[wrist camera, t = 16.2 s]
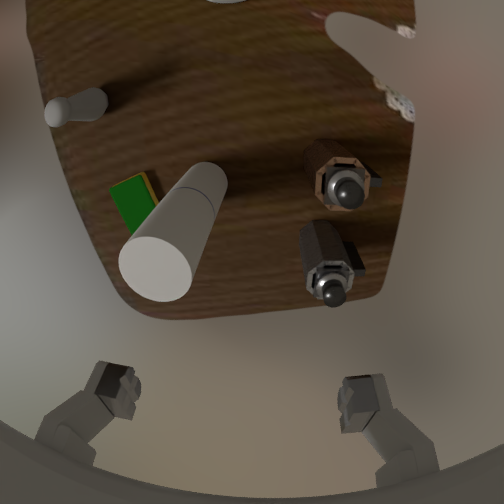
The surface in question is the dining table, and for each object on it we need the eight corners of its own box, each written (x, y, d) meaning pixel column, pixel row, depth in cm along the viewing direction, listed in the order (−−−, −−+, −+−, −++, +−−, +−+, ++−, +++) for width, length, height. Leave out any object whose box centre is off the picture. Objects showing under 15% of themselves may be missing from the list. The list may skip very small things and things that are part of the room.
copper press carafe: (304, 138, 42) (318, 157, 30) (360, 142, 41) (393, 163, 30) (302, 179, 45) (314, 212, 34) (356, 181, 45) (384, 215, 33)
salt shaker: (94, 82, 37) (45, 87, 26) (118, 93, 38) (72, 100, 27) (81, 112, 40) (34, 125, 29) (104, 124, 41) (59, 139, 30)
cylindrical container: (231, 166, 45) (195, 246, 24) (223, 206, 49) (188, 308, 27) (188, 158, 44) (117, 229, 23) (182, 198, 48) (121, 292, 27)
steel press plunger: (309, 237, 46) (320, 285, 36) (336, 238, 46) (354, 285, 35) (307, 260, 48) (316, 311, 38) (333, 261, 48) (348, 310, 38)
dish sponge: (146, 247, 54) (141, 254, 52) (114, 184, 48) (108, 189, 45) (177, 237, 53) (173, 244, 51) (145, 170, 46) (139, 174, 44)
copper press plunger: (315, 151, 39) (333, 175, 28) (345, 152, 39) (373, 178, 28) (313, 180, 41) (329, 214, 31) (342, 181, 41) (367, 216, 30)
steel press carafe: (300, 219, 49) (309, 263, 38) (351, 221, 49) (374, 264, 37) (298, 253, 53) (305, 302, 41) (346, 254, 52) (364, 301, 41)
